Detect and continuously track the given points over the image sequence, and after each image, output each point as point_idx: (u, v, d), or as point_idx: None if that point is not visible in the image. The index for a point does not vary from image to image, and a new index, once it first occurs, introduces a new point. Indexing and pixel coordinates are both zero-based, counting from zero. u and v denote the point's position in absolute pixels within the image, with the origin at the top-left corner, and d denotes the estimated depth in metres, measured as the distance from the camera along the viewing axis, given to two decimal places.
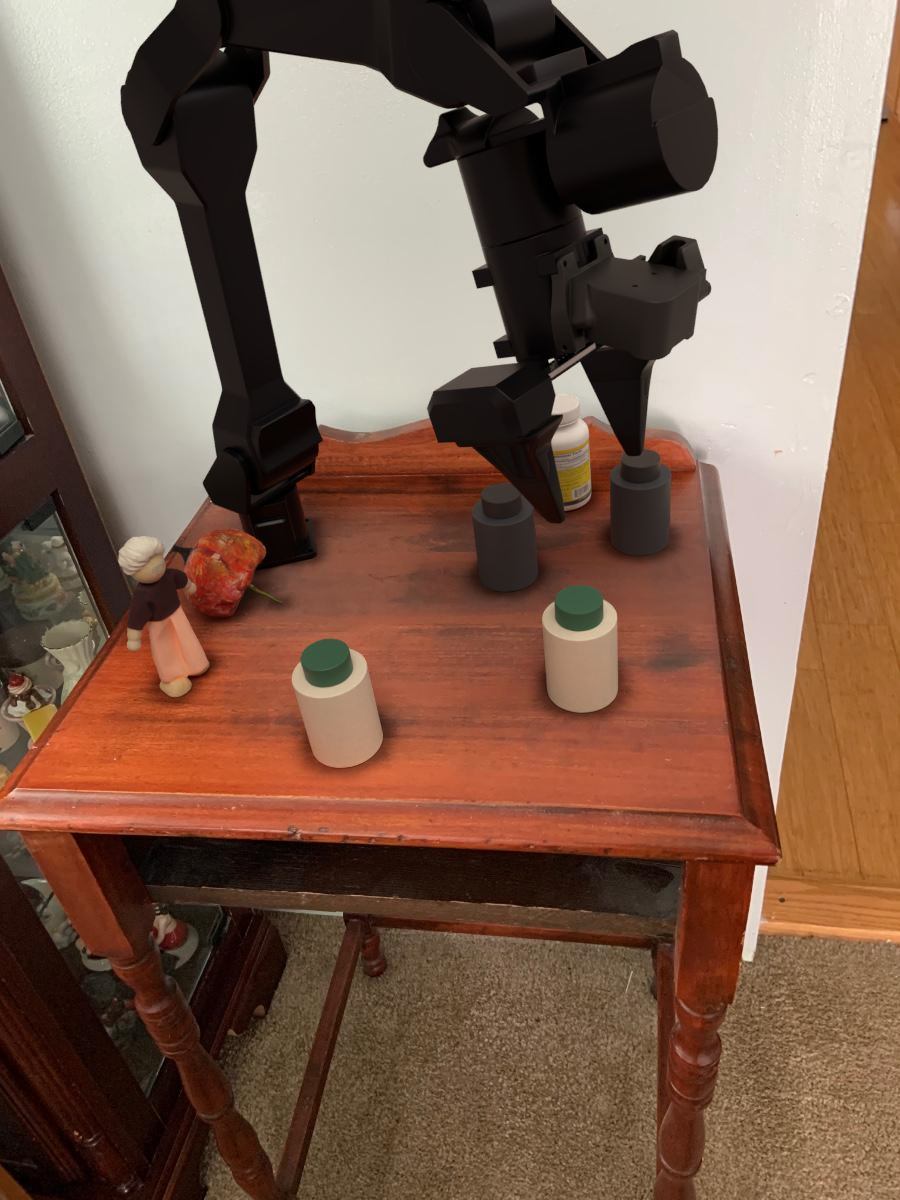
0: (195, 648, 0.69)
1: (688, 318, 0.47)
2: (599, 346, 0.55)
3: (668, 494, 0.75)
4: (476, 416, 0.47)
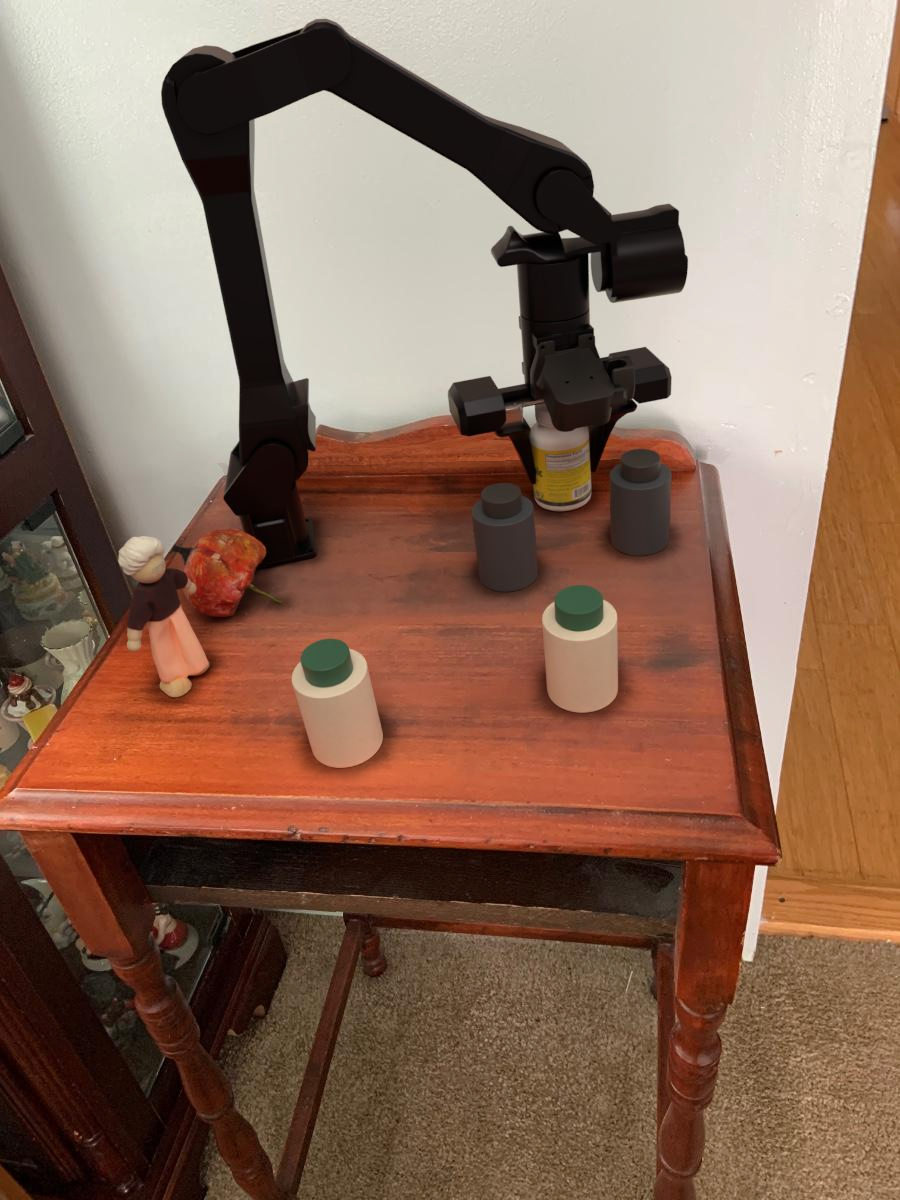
0: (195, 648, 0.69)
1: (594, 415, 0.72)
2: None
3: (668, 494, 0.75)
4: (455, 412, 0.77)
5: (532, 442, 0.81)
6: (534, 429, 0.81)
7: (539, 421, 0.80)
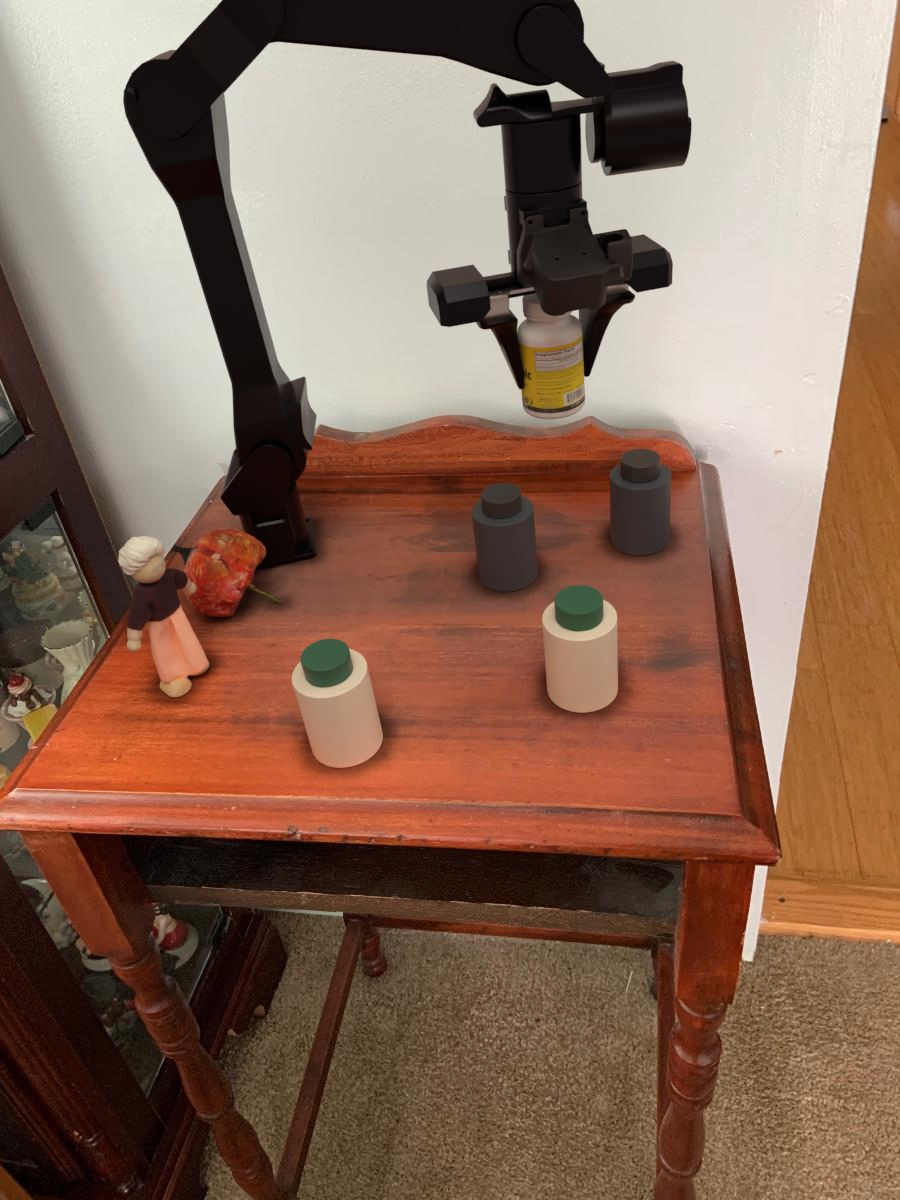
0: (195, 648, 0.69)
1: (588, 295, 0.65)
2: None
3: (668, 494, 0.75)
4: (434, 301, 0.70)
5: (520, 340, 0.74)
6: (522, 326, 0.74)
7: (527, 315, 0.73)
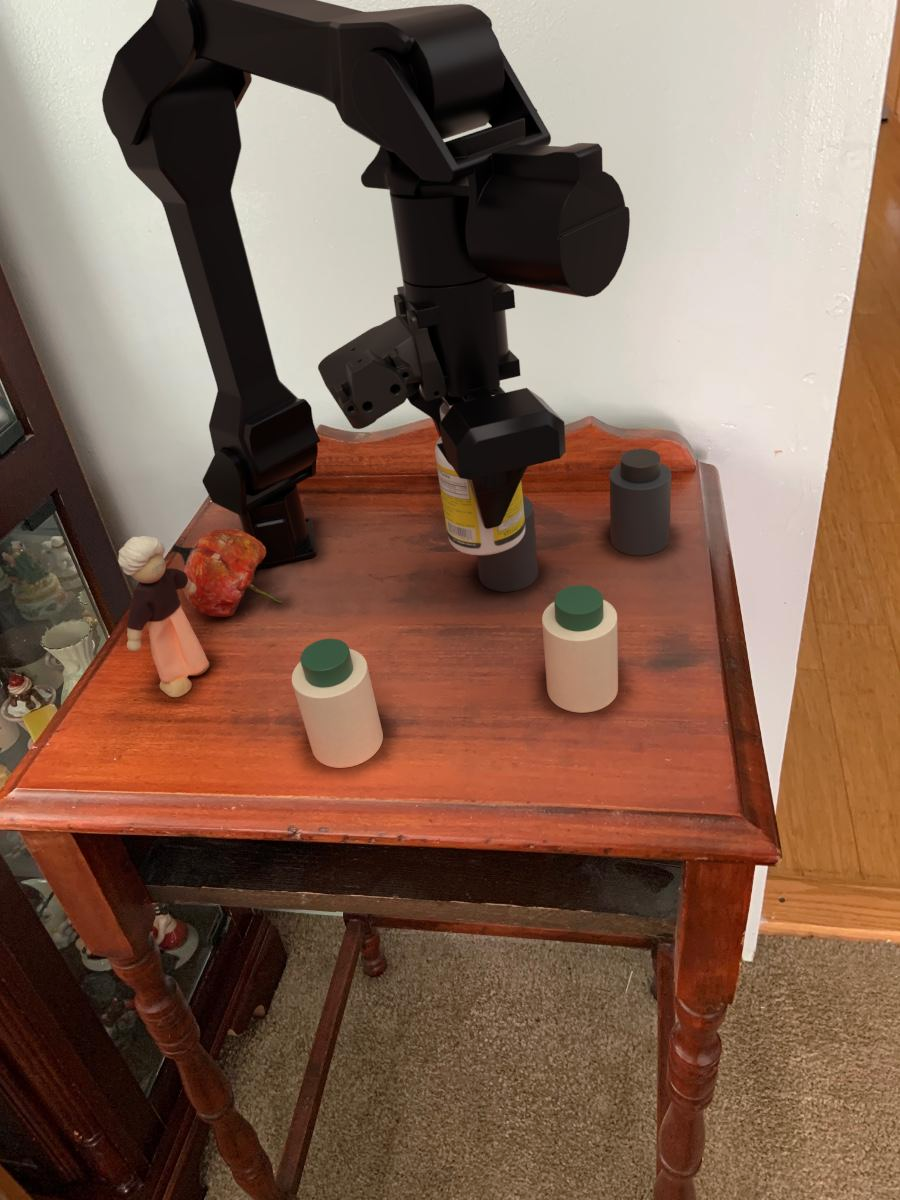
0: (195, 648, 0.69)
1: None
2: None
3: (668, 494, 0.75)
4: None
5: None
6: None
7: None
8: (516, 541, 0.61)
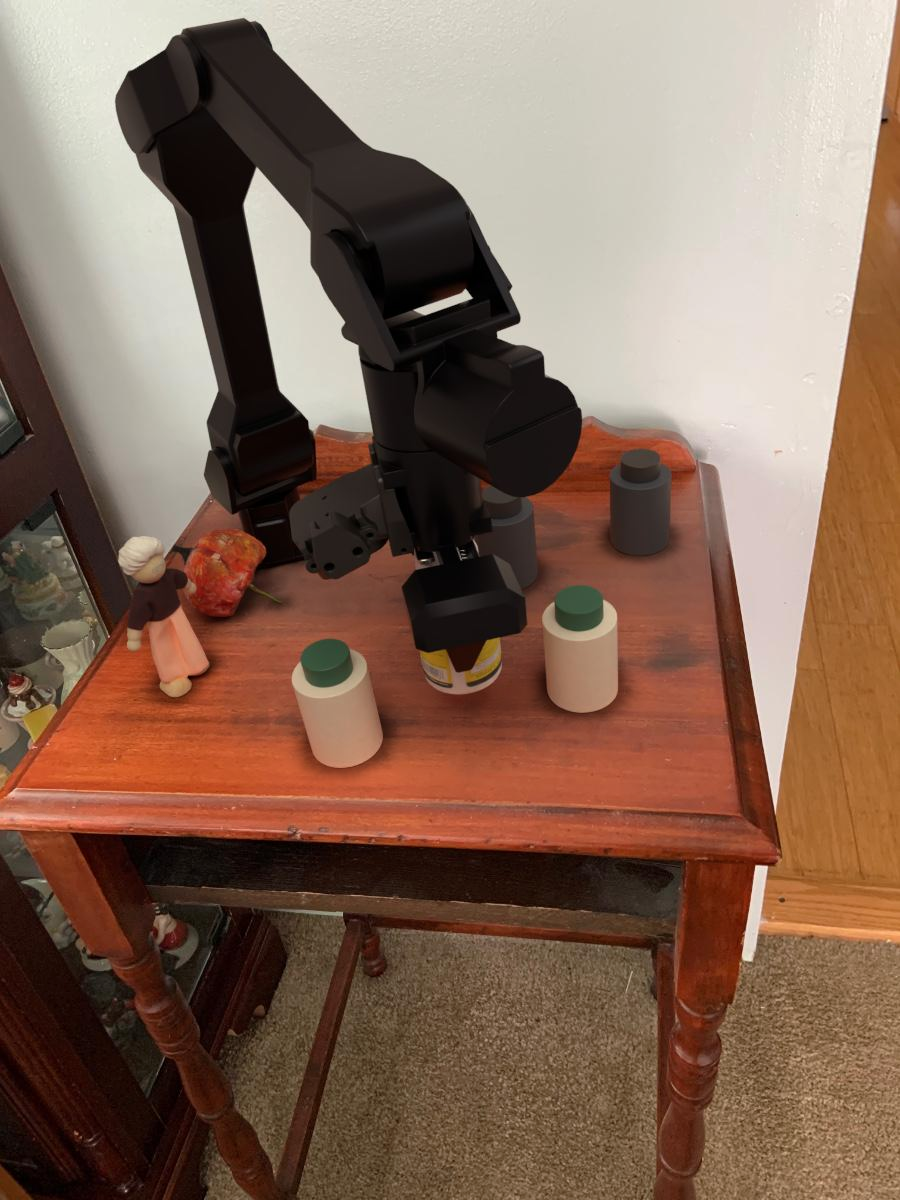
0: (195, 648, 0.69)
1: None
2: None
3: (668, 494, 0.75)
4: None
5: None
6: None
7: None
8: (490, 681, 0.60)
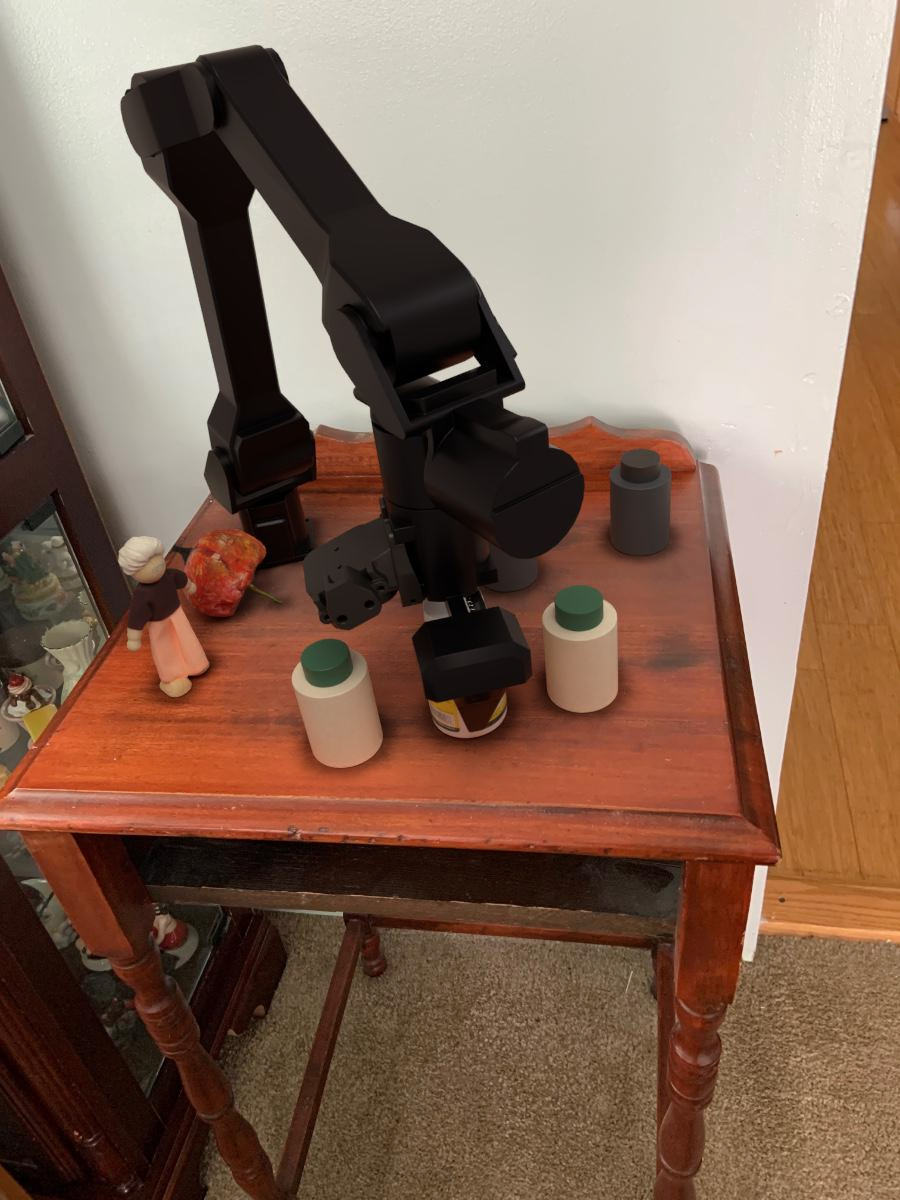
0: (195, 648, 0.69)
1: None
2: None
3: (668, 494, 0.75)
4: None
5: None
6: None
7: None
8: (495, 725, 0.62)
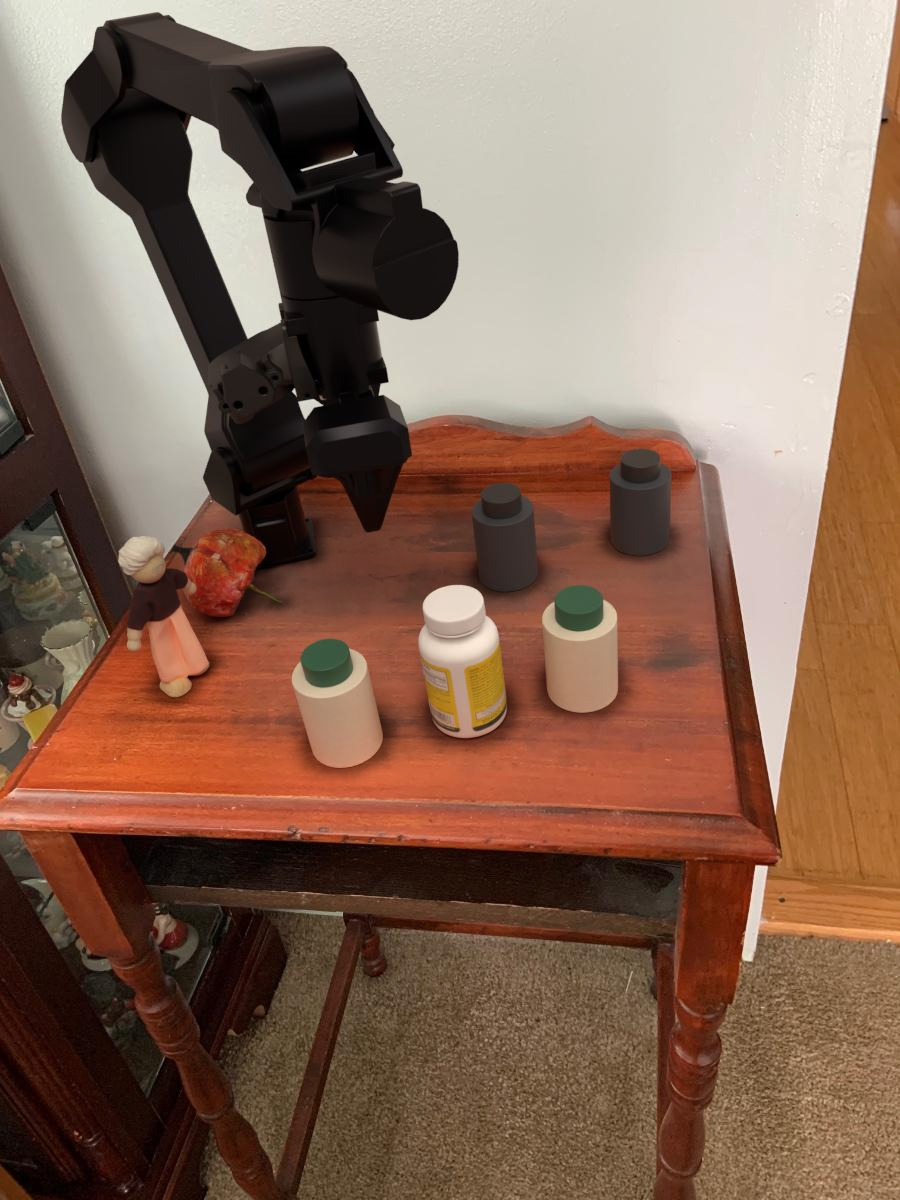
0: (195, 648, 0.69)
1: None
2: None
3: (668, 494, 0.75)
4: None
5: None
6: None
7: None
8: (495, 725, 0.62)
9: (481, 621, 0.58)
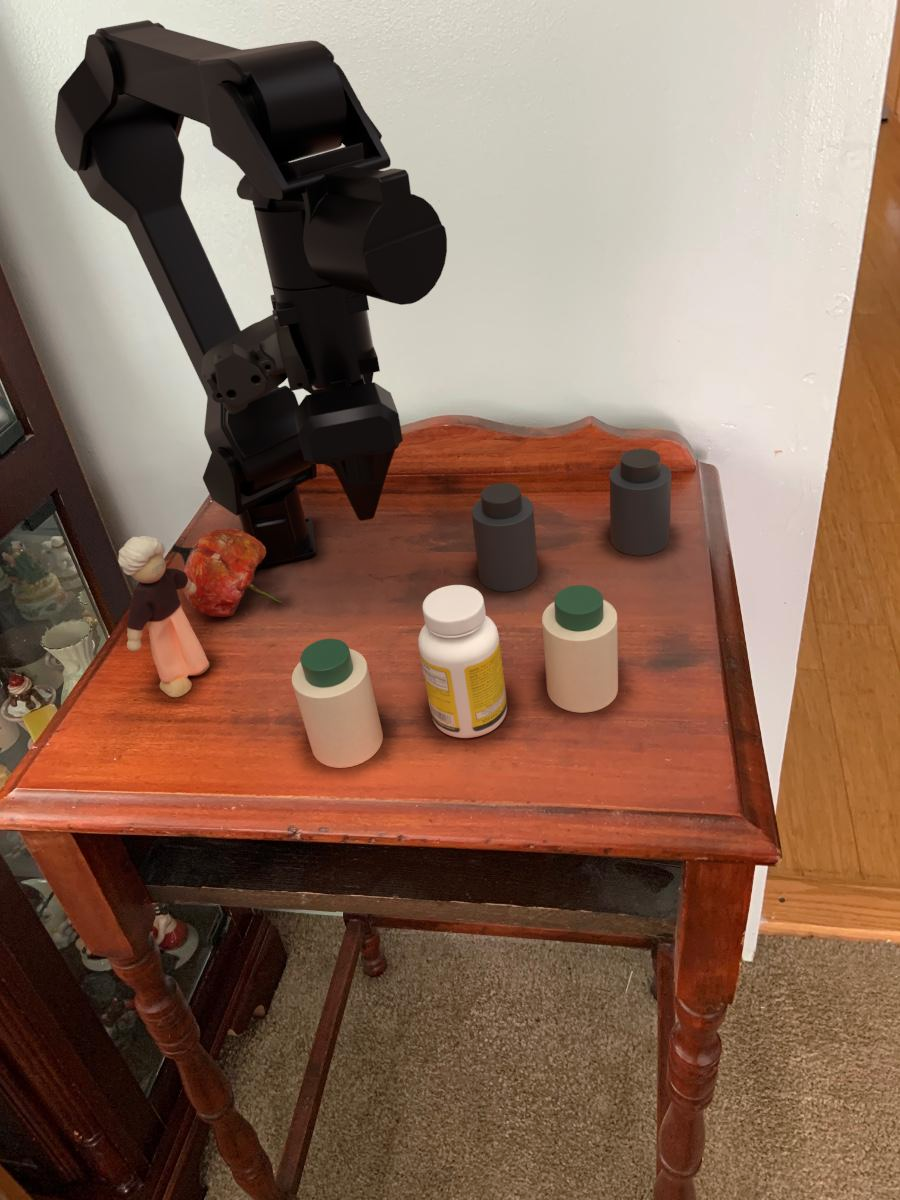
0: (195, 648, 0.69)
1: None
2: None
3: (668, 494, 0.75)
4: None
5: None
6: None
7: None
8: (495, 725, 0.62)
9: (481, 621, 0.58)
